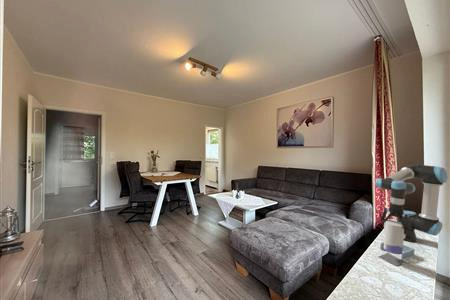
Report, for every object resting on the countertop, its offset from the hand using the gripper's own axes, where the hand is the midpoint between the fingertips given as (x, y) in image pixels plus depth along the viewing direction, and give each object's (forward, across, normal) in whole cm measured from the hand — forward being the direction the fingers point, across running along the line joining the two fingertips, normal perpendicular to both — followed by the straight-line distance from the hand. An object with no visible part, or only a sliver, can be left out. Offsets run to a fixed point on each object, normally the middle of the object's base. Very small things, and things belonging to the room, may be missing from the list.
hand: (394, 234), depth 139 cm
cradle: (+19, -4, +14) cm, 24 cm away
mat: (+19, 0, 0) cm, 19 cm away
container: (+12, 0, 0) cm, 12 cm away
